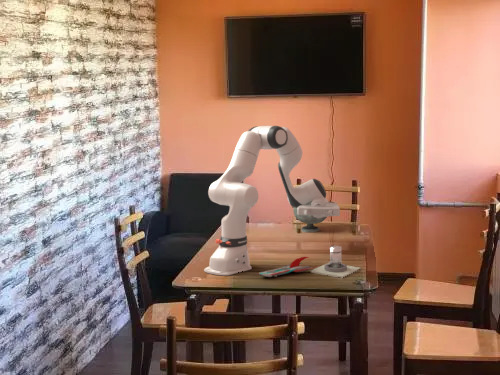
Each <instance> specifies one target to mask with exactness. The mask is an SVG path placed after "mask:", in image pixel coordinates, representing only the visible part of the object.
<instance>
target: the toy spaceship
mask: <svg viewBox="0 0 500 375" xmlns="http://www.w3.org/2000/svg"><path fill="white" fill-rule="evenodd" d="M308 258H309V256H301V257H298V258H296V259H294V260H293V261H292V262H291V263H290V264H287V265H285V266H283V267H279V268H274V269H271V270H265V271H260V272H257V274H258V275H260V276H264V277H266V278H267V277H268V278H271V277H274V278H277V277H278V276H281V275H282V276H283V275H285V274H289V273H291V272H295V273H301V272H307V271H311V270H312V269H315V268H318V266H312V267H311V266H310V265H305V266H301V264H303V262H302V261H304V260H305V259H308ZM301 262H302V263H301Z"/></svg>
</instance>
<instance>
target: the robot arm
mask: <svg viewBox="0 0 500 375" xmlns="http://www.w3.org/2000/svg"><path fill="white" fill-rule="evenodd" d="M260 150H276V152H277V154H278V156H279V162H278V164H277V168H278V172H279V174H280V178H281V181H282V184H283V187H284V190H285V192H286V198H287V201H288V204H289V205H290V207H292V208H293V207H295V208H297V214H298V215H313V216H314V217H316V218H322V217H327V218H328V217H340V215H341V207H340V205H338V202H334V201H328V199H327V190H326V188H325V187H324V185H323V183H322V182H321V181H320V180H318V179H316V178H312V179H309V180H307V181H305V182H303V183H301V184H300V185H297V186H293V183H292V180H291V178H290V174H291V172H292V171H293V169H294V168H296V166H297V165H298V164H299V163H300V162H301V160H302V158H303V149H302V147H301V145H300V143H299V141H298V139H297V138H296V136H295V135H294V134H293V132H292V131H291V130H290V129H289V128H288V127H286V126H280V125H259V126H253V127H251V128H249V129H248V130H247V131H244V132H243V133H242V134H241V135H240V137H239V139H238V140H237V143H236V146H235V148H234V151H233V153H232V157H231V160H230V162H229V165H228V167H227V169H226V170H225V171H224V173H223V174H222V175H221V176H220V177H219V178H218V179H217V180H215V181H213V182H212V183H211V184H210V186H209V188H208V191H207V194H208V198H209V200H210V201H211V202H213V203H215V204H218V205H220V206H228V207H229V210H228V214H226V215H224V216H223V217H222V218H221V221H220V222H221V236H220V237H219V238H220V239H219V238H216V239H215V241H214V242H215V244H218V247H217V248H216V250H215V251H214V252H213V253H212V255H211V256H210V257H209V264H208V265H209V266H207V267H205V268H203V272H205V273H207V274H211V275H216V276H231V275H235V274H238V272H239V273H241V272H242V271H243V272H246V271H250V270H252V266H251V264H250V263H251V262H250V255H249V254H250V253H249V250H248V246H247V244H248V236H247V217H248V215H249V213H250V210H251V209H252V208H253V207H254V206H255V205H256V204H257V203H258V200H259V192H258V188H256V186H254V185H251V184H249V183H245V182H243V181H244V180H246V179H247V178H248V177H250V176H252V174H253V173H254V170H255V167H256V164H257V160H258V158H259V155H260ZM311 201H312V202H311ZM308 202H311V206H305V205H304V204H306V203H308Z"/></svg>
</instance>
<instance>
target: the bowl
mask: <svg viewBox="0 0 500 375" xmlns="http://www.w3.org/2000/svg"><path fill="white" fill-rule="evenodd" d="M311 202H312V201H311ZM311 202H308V203H306V204H304V205H305V206H311ZM292 208H293V209H292V210H293V214H294V218H296V219H297V220H298V221H299V222H302V223H304V224H306V225H305V226H302V227H301V229H300V230H301V232H304V233H316V232H320V227H318V226H316V224H320V223H322V222H324V221H325V220H326V219H327V218H328V216H327V217H322V218H316V217H314V216H313V215H298V214H297V208H295V207H292Z"/></svg>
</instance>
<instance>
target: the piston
mask: <svg viewBox="0 0 500 375" xmlns="http://www.w3.org/2000/svg"><path fill="white" fill-rule="evenodd" d="M342 250H343V249H342V246H340V245H331V246H329V262H330V268H341V263H342V252H343V251H342Z"/></svg>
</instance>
